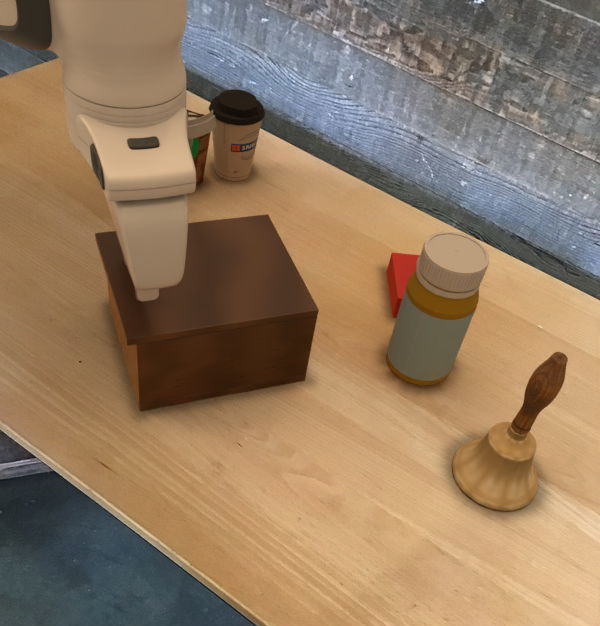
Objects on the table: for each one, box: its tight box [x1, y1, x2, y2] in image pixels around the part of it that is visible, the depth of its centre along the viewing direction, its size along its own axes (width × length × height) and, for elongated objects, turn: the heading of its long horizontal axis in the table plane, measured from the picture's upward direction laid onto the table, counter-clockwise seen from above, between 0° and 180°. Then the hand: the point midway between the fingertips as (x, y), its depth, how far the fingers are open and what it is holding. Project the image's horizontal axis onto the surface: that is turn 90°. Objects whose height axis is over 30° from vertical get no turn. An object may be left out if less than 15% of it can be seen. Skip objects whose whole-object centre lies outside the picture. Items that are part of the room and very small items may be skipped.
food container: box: [186, 108, 217, 187], centre depth 92 cm, size 12×6×10 cm, turn 71°
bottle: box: [385, 230, 490, 386], centre depth 75 cm, size 7×7×15 cm
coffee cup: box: [208, 88, 266, 182], centre depth 96 cm, size 7×7×10 cm
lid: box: [94, 213, 320, 346], centre depth 70 cm, size 18×15×5 cm
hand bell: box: [451, 351, 569, 512], centre depth 66 cm, size 8×8×16 cm
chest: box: [106, 279, 318, 412], centre depth 75 cm, size 17×15×9 cm
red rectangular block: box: [386, 252, 421, 318], centre depth 86 cm, size 8×7×6 cm
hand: (134, 260), depth 67 cm, fingers open, 8 cm apart
